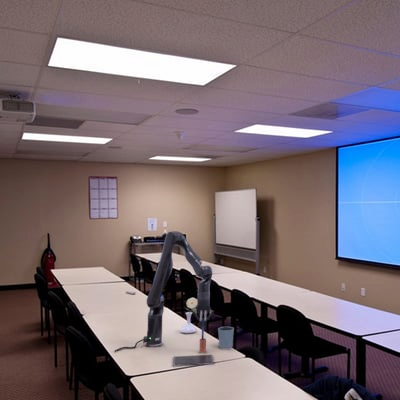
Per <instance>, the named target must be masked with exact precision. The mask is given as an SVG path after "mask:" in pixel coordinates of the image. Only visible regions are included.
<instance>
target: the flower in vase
mask: <svg viewBox="0 0 400 400" xmlns="http://www.w3.org/2000/svg"><path fill="white" fill-rule="evenodd" d="M185 304H186V307H187V308H186V310H187V312H185V315H186V323H185V324H184V325H183V326H182V327H181V328H180V332H181V333H183V334H193V333H195V332H197V327H196V326H194V325H193V324H192V323H191V318H192V314H193V311H195V310H196V309H197V298H195V297H190V298H188V299H187V300H186V303H185ZM190 309H191V310H190Z"/></svg>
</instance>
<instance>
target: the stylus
mask: <svg viewBox="0 0 400 400" xmlns="http://www.w3.org/2000/svg"><path fill="white" fill-rule="evenodd" d="M204 334H205V327H204V318H202V327H201V339H202V340H203V339H205V338H204Z"/></svg>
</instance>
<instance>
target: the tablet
mask: <svg viewBox="0 0 400 400" xmlns="http://www.w3.org/2000/svg"><path fill="white" fill-rule="evenodd" d="M172 365H173V367H186V366H203V365H205V366H206V365H214V359H213V355H212V354H199V355H198V354H197V355H179V356H178V355H177V356H173V364H172Z"/></svg>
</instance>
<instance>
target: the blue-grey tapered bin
mask: <svg viewBox="0 0 400 400" xmlns="http://www.w3.org/2000/svg"><path fill="white" fill-rule="evenodd" d="M234 331H235V328H234V327H233V326H220V327H218V328H217V332H218V347H219V348H220V349H223V350H224V349H225V350H227V349H228V350H229V349H232V348H233V346H234V333H235V332H234Z"/></svg>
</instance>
